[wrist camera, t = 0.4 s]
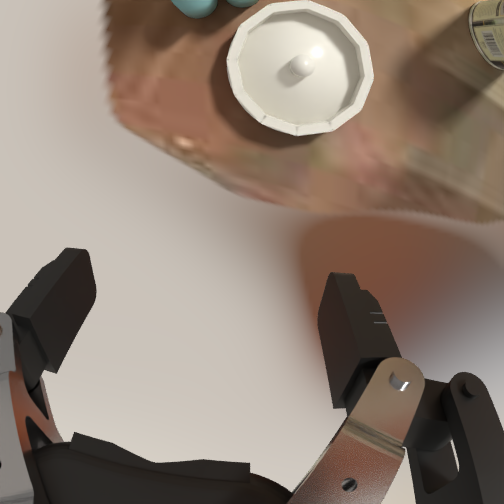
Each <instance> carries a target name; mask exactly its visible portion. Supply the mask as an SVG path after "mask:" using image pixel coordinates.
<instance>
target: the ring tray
mask: <svg viewBox="0 0 504 504" xmlns="http://www.w3.org/2000/svg"><path fill="white" fill-rule="evenodd" d="M226 61H227V72H228V79H229V82H230V86H231V88H232V91H233V93H234V95H235V97H236V98H237V100H238V101H239V103H240V104H241V106H242V107H243V108H244V109H245V110H246V111H247V112H248V113H249V114H250V115H251V116H252V117H253V118H255V119H256V120H257V121H258V122H259V123H261V124H263V125H265V126H267V127H269V128H272V129H274V130H277V131H280V132H284V133H288V134H292V135H294V136H296V135H297V136H301V135H309V134H316V133H323V132H331V131H332V130H333V131H334V130H335V129H337V128H338V127H339V126H341V125H342V124H343V123H345V122H346V121H347V120H349V119H350V118H351V117H353V116H354V115H356V114H357V113H358V112H360V111H361V110H362V107H363V105H364V102H365V100H366V97H367V95H368V93H369V90H370V88H371V85H372V82H373V80H374V79H373V78H374V75H373V69H372V63H371V57H370V51H369V46H368V44H367V42H366V40H365V39H364V38H363V37H362V35H361V34H360V33H359V32H358V31H357V29H356V28H355V27H354V26H353V25H352V23H351V22H350V21H349V20H348V19H347V18H346V16H343V14H341V13H339V12H336V11H334V10H332V9H329V8H327V7H325V6H322V5H320V4H317V3H314V2H312V1H307V0H302V1H291V2H281V3H273V4H270V5H267V6H266V7H264V8H263V9H261V10H260V11H259V12H257V13H256V14H254V15H253V16H252V17H250V18H249V19H248V20H246V21H245V22H244V23H242V24H241V25H240V27H239V28H238V30H237V33H236V34H235V36H234V38H233V40H232V42H231V45H230V48H229V52H228V56H227V60H226ZM360 109H361V110H360Z"/></svg>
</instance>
